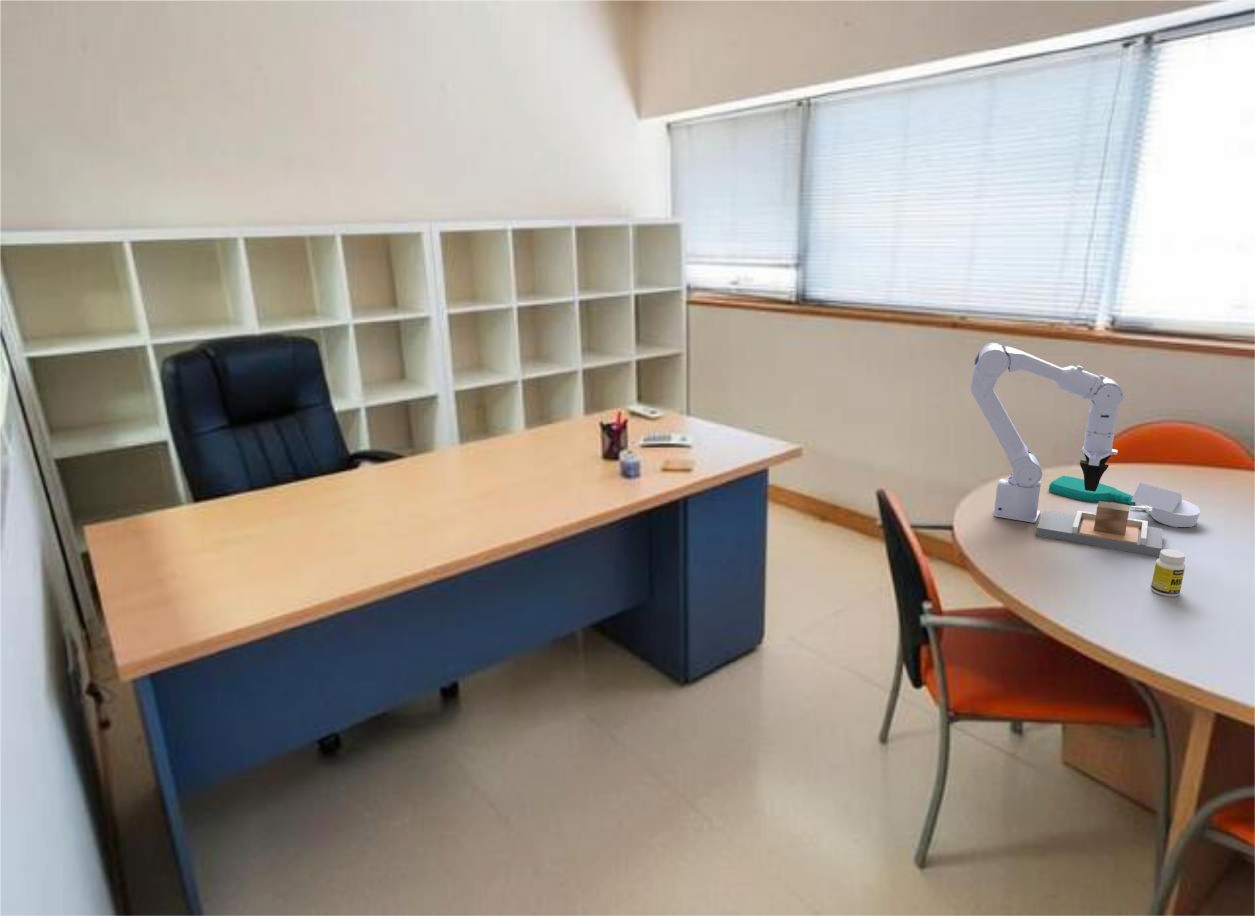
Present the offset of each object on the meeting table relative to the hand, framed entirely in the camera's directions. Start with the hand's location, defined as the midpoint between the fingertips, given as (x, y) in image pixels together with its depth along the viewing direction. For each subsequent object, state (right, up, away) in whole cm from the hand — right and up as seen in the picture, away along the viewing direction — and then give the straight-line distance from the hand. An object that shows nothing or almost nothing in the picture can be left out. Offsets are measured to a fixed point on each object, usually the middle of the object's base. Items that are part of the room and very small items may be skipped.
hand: (1091, 485), depth 178 cm
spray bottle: (+13, -5, +16) cm, 21 cm away
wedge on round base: (+19, -8, +2) cm, 20 cm away
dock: (-2, -12, -5) cm, 13 cm away
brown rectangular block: (-1, -10, -8) cm, 13 cm away
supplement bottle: (-4, -20, -30) cm, 36 cm away
